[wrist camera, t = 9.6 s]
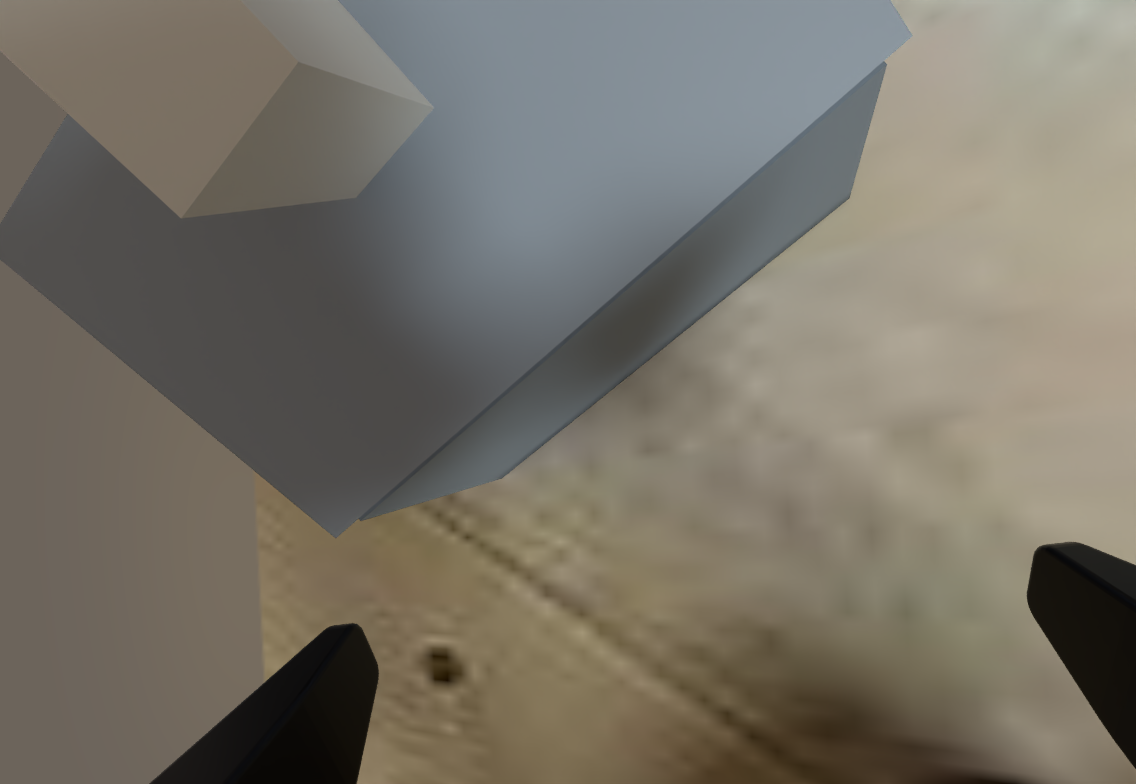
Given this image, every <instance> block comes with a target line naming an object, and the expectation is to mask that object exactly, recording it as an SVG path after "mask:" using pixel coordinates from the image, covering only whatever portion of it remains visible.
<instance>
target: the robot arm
mask: <svg viewBox="0 0 1136 784" xmlns="http://www.w3.org/2000/svg"><path fill="white" fill-rule="evenodd" d="M1027 602H1028V605H1029V608H1030V611H1031V613H1032V615H1033V616H1034V618H1035V620H1036V621H1037V623H1038V624H1039V626H1040V627H1041V629H1042V631H1043V632H1044V634H1045V635H1046V637H1047V638H1048V640H1049V641H1050V643H1051V645H1052V646H1053V648H1054V649H1055V651H1056V652H1057V654H1058V655H1059V657H1060V659H1061V660H1062V662H1063V663H1064V665H1065V666H1066V668H1067V669H1068V671H1069V673H1070V674H1071V676H1072V677H1073V679H1074V680H1075V682H1076V683H1077V685H1078V687H1079V688H1080V690H1081V691H1082V693H1083V694H1084V696H1085V697H1086V699H1087V700H1088V702H1089V704H1090V705H1091V707H1092V708H1093V710H1094V711H1095V713H1096V714H1097V716H1098V718H1099V719H1100V720H1101V722H1102V723H1103V725H1104V726H1105V728H1106V729H1107V731H1108V732H1109V734H1110V735H1111V737H1112V738H1113V739H1114V741H1115V742H1116V743H1117V745H1118V746H1119V747H1120V749H1121V750H1122V751H1123V753H1124V754H1125V756H1126V757H1127V758H1128V760H1129V761H1130V762H1131V763H1132V765H1133V766H1134V767H1135V769H1136V565H1134V564H1132V563H1129V562H1127V561H1124V560H1122V559H1119V558H1117V557H1114V556H1112V555H1109V554H1107V553H1104V552H1102V551H1099V550H1097V549H1094V548H1092V547H1089V546H1087V545H1084V544H1081V543H1078V542H1064V543H1056V544H1047V545H1042V546H1040V547H1038V548H1037V550H1036V551H1035V552H1034V556H1033V561H1032V567H1031V573H1030V578H1029V584H1028V590H1027ZM378 677H379V671H378V664H377V661H376V659H375V656H374V654H373V652H372V650H371V647H370V645H369V643H368V641H367V638H366V636H365V634H364V632H363V630H362V628H361V627H360V626H359V625H358V624H354V623H351V624H342V625H334V626H330V627H328V628H326V629H325V630H324V631H323V632H322V633H320V634H319V635H318V636H317V637H316V638H315V639H314V640H312V641H311V642H310V643H309V644H308V645H307V646H306V647H304V648H303V649H302V650H301V651H300V652H299V653H298V654H296V655H295V656H294V657H293V658H292V659H291V660H290V661H289V662H287V663H286V664H285V665H284V666H283V667H282V668H281V669H279V670H278V671H277V672H276V673H275V674H274V675H273V676H271V677H270V678H269V679H268V680H267V681H266V682H265V683H263V684H262V685H261V686H260V687H259V688H258V689H257V690H256V691H254V692H253V693H252V694H251V695H250V696H249V697H248V698H246V699H245V700H244V701H243V702H242V703H241V704H240V705H238V706H237V707H236V708H235V709H234V710H233V711H232V712H230V713H229V714H228V715H227V716H226V717H225V718H224V719H222V720H221V721H220V722H219V723H218V724H217V725H216V726H214V727H213V728H212V729H211V730H210V731H209V732H208V733H207V734H205V735H204V736H203V737H202V738H201V739H200V740H199V741H197V742H196V743H195V744H194V745H193V746H192V747H191V748H190V749H188V750H187V751H186V752H185V753H184V754H183V755H181V756H180V757H179V758H178V759H177V760H176V761H175V762H174V763H172V764H171V765H170V766H169V767H168V768H167V769H165V770H164V771H163V772H162V773H161V774H160V775H159V776H157V777H156V778H155V779H154V780H153V781H152V782H151V783H150V784H357V780H358V775H359V770H360V766H361V761H362V756H363V751H364V746H365V742H366V737H367V732H368V727H369V723H370V718H371V713H372V708H373V703H374V699H375V694H376V689H377V684H378Z"/></svg>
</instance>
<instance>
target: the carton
mask: <svg viewBox="0 0 1136 784" xmlns="http://www.w3.org/2000/svg"><path fill="white" fill-rule="evenodd" d="M886 66H887V64H886V63H885V62H884V61H883V62H882V63H881V64H880V65H878V66H877V67H876V68H875V69H874V70H873V71H872V72H870V73H869V74H868V75H867V76H866V77H865V78H863V79H862V80H861V81H860V82H859V83H858V84H857V85H855V86H854V87H853V88H852V89H851V90H850V91H849V92H847V93H846V94H845V95H844V96H843V97H842V98H841V99H839V100H838V101H837V102H836V103H835V104H834V105H833V106H831V107H830V108H829V109H828V110H827V111H826V112H824V113H823V114H822V115H821V116H820V117H819V118H818V119H816V120H815V121H814V122H813V123H812V124H811V125H810V126H808V127H807V128H806V129H805V130H804V131H803V132H802V133H800V134H799V135H798V136H797V137H796V138H795V139H793V140H792V141H791V142H790V143H789V144H788V145H787V146H785V147H784V148H783V149H782V150H781V151H780V152H779V153H777V154H776V155H775V156H774V157H773V158H772V159H771V160H769V161H768V162H767V163H766V164H765V165H764V166H763V167H761V168H760V169H759V170H758V171H757V172H756V173H754V174H753V175H752V176H751V177H750V178H749V179H748V180H746V181H745V182H744V183H743V184H742V185H741V186H740V187H738V188H737V189H736V190H735V191H734V192H733V193H732V194H730V195H729V196H728V197H727V198H726V199H725V200H723V201H722V202H721V203H720V204H719V205H718V206H717V207H715V208H714V209H713V210H712V211H711V212H710V213H709V214H707V215H706V216H705V217H704V218H703V219H702V220H701V221H699V222H698V223H697V224H696V225H695V226H694V227H692V228H691V229H690V230H689V231H688V232H687V233H686V234H684V235H683V236H682V237H681V238H680V239H679V240H678V241H676V242H675V243H674V244H673V245H672V246H671V247H670V248H668V249H667V250H666V251H665V252H664V253H663V254H662V255H660V256H659V257H658V258H657V259H656V260H655V261H653V262H652V263H651V264H650V265H649V266H648V267H647V268H645V269H644V270H643V271H642V272H641V273H640V274H639V275H637V276H636V277H635V278H634V279H633V280H632V281H631V282H629V283H628V284H627V285H626V286H625V287H624V288H622V289H621V290H620V291H619V292H618V293H617V294H616V295H614V296H613V297H612V298H611V299H610V300H609V301H608V302H606V303H605V304H604V305H603V306H602V307H601V308H600V309H598V310H597V311H596V312H595V313H594V314H593V315H592V316H590V317H589V318H588V319H587V320H586V321H585V322H583V323H582V324H581V325H580V326H579V327H578V328H577V329H575V330H574V331H573V332H572V333H571V334H570V335H569V336H567V337H566V338H565V339H564V340H563V341H562V342H561V343H559V344H558V345H557V346H556V347H555V348H554V349H552V350H551V351H550V352H549V353H548V354H547V355H546V356H544V357H543V358H542V359H541V360H540V361H539V362H538V363H536V364H535V365H534V366H533V367H532V368H531V369H530V370H528V371H527V372H526V373H525V374H524V375H523V376H521V377H520V378H519V379H518V380H517V381H516V382H515V383H513V384H512V385H511V386H510V387H509V388H508V389H507V390H505V391H504V392H503V393H502V394H501V395H500V396H499V397H497V398H496V399H495V400H494V401H493V402H492V403H491V404H489V405H488V406H487V407H486V408H485V409H484V410H482V411H481V412H480V413H479V414H478V415H477V416H476V417H474V418H473V419H472V420H471V421H470V422H469V423H468V424H466V425H465V426H464V427H463V428H462V429H461V430H460V431H458V432H457V433H456V434H455V435H454V436H453V437H451V438H450V439H449V440H448V441H447V442H446V443H445V444H443V445H442V446H441V447H440V448H439V449H438V450H437V451H435V452H434V453H433V454H432V455H431V456H430V457H429V458H427V459H426V460H425V461H424V462H423V463H422V464H421V465H419V466H418V467H417V468H416V469H415V470H414V471H412V472H411V473H410V474H409V475H408V476H407V477H406V478H404V479H403V480H402V481H401V482H400V483H399V484H398V485H396V486H395V487H394V488H393V489H392V490H391V491H390V492H388V493H387V494H386V495H385V496H384V497H383V498H381V499H380V500H379V501H378V502H377V503H376V504H375V505H373V506H372V507H371V508H370V509H369V510H368V511H367V512H365V513H364V514H363V515H362V516H361V517H360V518H359V519H360V521H362V520H366V519H369V518H372V517H376V516H379V515H382V514H386V513H389V512H392V511H396V510H399V509H402V508H405V507H409V506H412V505H415V504H419V503H422V502H425V501H429V500H432V499H435V498H439V497H442V496H445V495H448V494H452V493H455V492H458V491H462V490H465V489H468V488H472V487H475V486H478V485H482V484H485V483H488V482H491V481H495V480H498V479H501V478H503V477H504V476H505V475H507V474H508V473H509V472H510V471H512V470H513V469H514V468H515V467H517V466H518V465H519V464H520V463H521V462H523V461H524V460H525V459H526V458H528V457H529V456H530V455H531V454H533V453H534V452H535V451H536V450H538V449H539V448H540V447H541V446H543V445H544V444H545V443H546V442H548V441H549V440H550V439H551V438H552V437H554V436H555V435H556V434H557V433H559V432H560V431H561V430H562V429H564V428H565V427H566V426H567V425H569V424H570V423H571V422H572V421H574V420H575V419H576V418H577V417H579V416H580V415H581V414H582V413H583V412H585V411H586V410H587V409H588V408H590V407H591V406H592V405H593V404H595V403H596V402H597V401H598V400H600V399H601V398H602V397H603V396H605V395H606V394H607V393H608V392H610V391H611V390H612V389H613V388H615V387H616V386H617V385H618V384H619V383H621V382H622V381H623V380H624V379H626V378H627V377H628V376H629V375H631V374H632V373H633V372H634V371H636V370H637V369H638V368H639V367H641V366H642V365H643V364H644V363H646V362H647V361H648V360H649V359H650V358H652V357H653V356H654V355H655V354H657V353H658V352H659V351H660V350H662V349H663V348H664V347H665V346H667V345H668V344H669V343H670V342H672V341H673V340H674V339H675V338H677V337H678V336H679V335H680V334H681V333H683V332H684V331H685V330H686V329H688V328H689V327H690V326H691V325H693V324H694V323H695V322H696V321H698V320H699V319H700V318H701V317H703V316H704V315H705V314H706V313H708V312H709V311H710V310H711V309H712V308H714V307H715V306H716V305H717V304H719V303H720V302H721V301H722V300H724V299H725V298H726V297H727V296H729V295H730V294H731V293H732V292H734V291H735V290H736V289H737V288H739V287H740V286H741V285H742V284H743V283H745V282H746V281H747V280H748V279H750V278H751V277H752V276H753V275H755V274H756V273H757V272H758V271H760V270H761V269H762V268H763V267H765V266H766V265H767V264H768V263H770V262H771V261H772V260H773V259H774V258H776V257H777V256H778V255H779V254H781V253H782V252H783V251H784V250H786V249H787V248H788V247H789V246H791V245H792V244H793V243H794V242H796V241H797V240H798V239H799V238H801V237H802V236H803V235H804V234H806V233H807V232H808V231H809V230H810V229H812V228H813V227H814V226H815V225H817V224H818V223H819V222H820V221H822V220H823V219H824V218H825V217H827V216H828V215H829V214H830V213H832V212H833V211H834V210H835V209H837V208H838V207H839V206H840V205H841V204H843V203H844V202H845V201H846V200H848V199H849V197H850V194H851V190H852V187H853V183H854V180H855V176H856V172H857V169H858V165H859V162H860V158H861V155H862V151H863V148H864V144H865V141H866V137H867V133H868V130H869V126H870V123H871V119H872V116H873V112H874V109H875V105H876V102H877V98H878V94H879V91H880V87H881V84H882V80H883V77H884V73H885V70H886Z"/></svg>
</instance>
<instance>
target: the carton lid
mask: <svg viewBox="0 0 1136 784" xmlns="http://www.w3.org/2000/svg"><path fill="white" fill-rule="evenodd" d="M911 37H912V34H911V32H910V31H909V29H908V28H907V26H906V25H905V23H904V21H903V20H902V18H901V17H900V15H899V13H898V12H897V10H896V9H895V7H894V6H893V4H892V2H891V1H890V0H0V51H1V52H2V53H3V54H4V55H5V56H6V57H7V58H8V59H9V60H10V61H11V62H13V63H14V64H15V65H16V66H17V67H18V68H19V69H20V70H21V71H22V72H23V73H24V74H25V75H27V76H28V77H29V78H30V79H31V80H32V81H33V82H34V83H35V84H36V85H37V86H38V87H40V88H41V89H42V90H43V91H44V92H45V93H46V94H47V95H48V96H49V97H50V98H51V99H52V100H54V101H55V102H56V103H57V104H58V105H59V106H60V107H61V108H62V109H63V110H65V111H66V112H67V113H68V114H67V116H66V118H65V119H64V121H63V123H62V124H61V126H60V127H59V129H58V131H57V132H56V134H55V136H54V137H53V139H52V140H51V142H50V144H49V145H48V147H47V149H46V150H45V152H44V153H43V155H42V157H41V158H40V160H39V162H38V163H37V165H36V166H35V168H34V170H33V171H32V173H31V175H30V176H29V178H28V180H27V181H26V183H25V184H24V186H23V188H22V189H21V191H20V193H19V194H18V196H17V198H16V199H15V201H14V202H13V204H12V206H11V207H10V209H9V210H8V212H7V214H6V216H5V217H4V219H3V220H2V222H1V224H0V260H2V261H3V262H4V263H5V264H6V265H8V266H9V267H10V268H11V269H12V270H14V271H15V272H16V273H17V274H19V275H20V276H21V277H22V278H23V279H25V280H26V281H27V282H28V283H29V284H30V285H32V286H33V287H34V288H35V289H37V290H38V291H39V292H40V293H41V294H43V295H44V296H45V297H46V298H47V299H49V300H50V301H51V302H52V303H53V304H55V305H56V306H57V307H58V308H60V310H62V311H63V312H64V313H65V314H66V315H68V316H69V317H70V318H71V319H72V320H74V321H75V322H76V323H77V324H79V325H80V326H81V327H82V328H83V329H85V330H86V331H87V332H88V333H89V334H91V335H92V336H93V337H94V338H95V339H97V340H98V341H99V342H100V343H101V344H103V345H104V346H105V347H106V348H107V349H109V350H110V351H111V352H112V353H114V354H115V355H116V356H117V357H118V358H119V359H121V360H122V361H123V362H124V363H126V364H127V365H128V366H129V367H130V368H131V369H133V370H134V371H135V372H136V373H137V374H139V375H140V376H141V377H142V378H143V379H145V380H146V381H147V382H148V383H150V384H151V385H152V386H153V387H154V388H155V389H157V390H158V391H159V392H160V393H161V394H163V395H164V396H165V397H166V398H168V399H169V400H170V401H171V402H172V403H174V404H175V405H176V406H177V407H178V408H180V409H181V410H182V411H183V412H184V413H186V414H187V415H188V416H189V417H190V418H192V419H193V420H194V421H195V422H196V423H198V424H199V425H200V426H201V427H202V428H204V429H205V430H206V431H207V432H208V433H210V434H211V435H212V436H213V437H214V438H216V439H217V440H218V441H219V442H220V443H222V444H223V445H224V446H225V447H227V448H228V449H229V450H230V451H231V452H232V453H234V454H235V455H236V456H237V457H238V458H240V459H241V460H242V461H243V462H244V463H246V464H247V465H248V466H249V467H251V468H252V469H253V470H254V471H255V472H256V473H258V474H259V475H260V476H261V477H262V478H264V479H265V480H266V481H267V482H269V483H270V484H271V485H272V486H273V487H275V488H276V489H277V490H278V491H279V492H281V493H282V494H283V495H284V496H285V497H287V498H288V499H289V500H290V501H291V502H293V503H294V504H295V505H296V506H297V507H299V508H300V509H301V510H302V511H303V512H305V513H306V514H307V515H308V516H309V517H311V518H312V519H313V520H314V521H315V522H317V523H318V524H319V525H320V526H321V527H323V528H324V529H325V530H326V531H327V532H329V533H330V534H331V535H332V536H333V537H335V538H337V537H338V536H339V535H340V534H341V533H342V532H344V531H345V530H346V529H347V528H348V527H349V526H350V525H352V524H353V523H354V522H355V521H356V520H357V519H359V518H360V517H361V516H362V515H363V514H364V513H365V512H367V511H368V510H369V509H370V508H371V507H372V506H373V505H375V504H376V503H377V502H378V501H379V500H380V499H381V498H383V497H384V496H385V495H386V494H387V493H388V492H390V491H391V490H392V489H393V488H394V487H395V486H396V485H398V484H399V483H400V482H401V481H402V480H403V479H404V478H406V477H407V476H408V475H409V474H410V473H411V472H412V471H414V470H415V469H416V468H417V467H418V466H419V465H421V464H422V463H423V462H424V461H425V460H426V459H427V458H429V457H430V456H431V455H432V454H433V453H434V452H435V451H437V450H438V449H439V448H440V447H441V446H442V445H443V444H445V443H446V442H447V441H448V440H449V439H450V438H451V437H453V436H454V435H455V434H456V433H457V432H458V431H460V430H461V429H462V428H463V427H464V426H465V425H466V424H468V423H469V422H470V421H471V420H472V419H473V418H474V417H476V416H477V415H478V414H479V413H480V412H481V411H482V410H484V409H485V408H486V407H487V406H488V405H489V404H491V403H492V402H493V401H494V400H495V399H496V398H497V397H499V396H500V395H501V394H502V393H503V392H504V391H505V390H507V389H508V388H509V387H510V386H511V385H512V384H513V383H515V382H516V381H517V380H518V379H519V378H520V377H521V376H523V375H524V374H525V373H526V372H527V371H528V370H530V369H531V368H532V367H533V366H534V365H535V364H536V363H538V362H539V361H540V360H541V359H542V358H543V357H544V356H546V355H547V354H548V353H549V352H550V351H551V350H552V349H554V348H555V347H556V346H557V345H558V344H559V343H561V342H562V341H563V340H564V339H565V338H566V337H567V336H569V335H570V334H571V333H572V332H573V331H574V330H575V329H577V328H578V327H579V326H580V325H581V324H582V323H583V322H585V321H586V320H587V319H588V318H589V317H590V316H592V315H593V314H594V313H595V312H596V311H597V310H598V309H600V308H601V307H602V306H603V305H604V304H605V303H606V302H608V301H609V300H610V299H611V298H612V297H613V296H614V295H616V294H617V293H618V292H619V291H620V290H621V289H622V288H624V287H625V286H626V285H627V284H628V283H629V282H631V281H632V280H633V279H634V278H635V277H636V276H637V275H639V274H640V273H641V272H642V271H643V270H644V269H645V268H647V267H648V266H649V265H650V264H651V263H652V262H653V261H655V260H656V259H657V258H658V257H659V256H660V255H662V254H663V253H664V252H665V251H666V250H667V249H668V248H670V247H671V246H672V245H673V244H674V243H675V242H676V241H678V240H679V239H680V238H681V237H682V236H683V235H684V234H686V233H687V232H688V231H689V230H690V229H691V228H692V227H694V226H695V225H696V224H697V223H698V222H699V221H701V220H702V219H703V218H704V217H705V216H706V215H707V214H709V213H710V212H711V211H712V210H713V209H714V208H715V207H717V206H718V205H719V204H720V203H721V202H722V201H723V200H725V199H726V198H727V197H728V196H729V195H730V194H732V193H733V192H734V191H735V190H736V189H737V188H738V187H740V186H741V185H742V184H743V183H744V182H745V181H746V180H748V179H749V178H750V177H751V176H752V175H753V174H754V173H756V172H757V171H758V170H759V169H760V168H761V167H763V166H764V165H765V164H766V163H767V162H768V161H769V160H771V159H772V158H773V157H774V156H775V155H776V154H777V153H779V152H780V151H781V150H782V149H783V148H784V147H785V146H787V145H788V144H789V143H790V142H791V141H792V140H793V139H795V138H796V137H797V136H798V135H799V134H800V133H802V132H803V131H804V130H805V129H806V128H807V127H808V126H810V125H811V124H812V123H813V122H814V121H815V120H816V119H818V118H819V117H820V116H821V115H822V114H823V113H824V112H826V111H827V110H828V109H829V108H830V107H831V106H833V105H834V104H835V103H836V102H837V101H838V100H839V99H841V98H842V97H843V96H844V95H845V94H846V93H847V92H849V91H850V90H851V89H852V88H853V87H854V86H855V85H857V84H858V83H859V82H860V81H861V80H862V79H863V78H865V77H866V76H867V75H868V74H869V73H870V72H872V71H873V70H874V69H875V68H876V67H877V66H878V65H880V64H881V63H882V62H883V61H884V60H885V59H886V58H888V57H889V56H890V55H891V54H892V53H893V52H894V51H896V50H897V49H898V48H899V47H900V46H901V45H903V44H904V43H905V42H906V41H907V40H908V39H909V38H911Z"/></svg>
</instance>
